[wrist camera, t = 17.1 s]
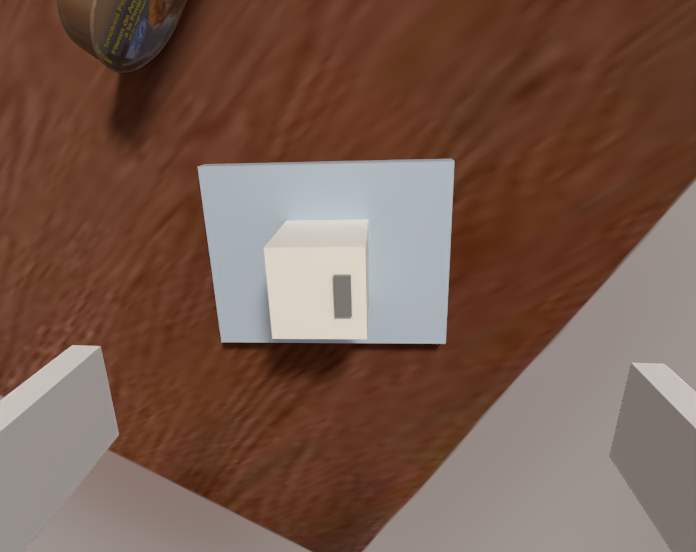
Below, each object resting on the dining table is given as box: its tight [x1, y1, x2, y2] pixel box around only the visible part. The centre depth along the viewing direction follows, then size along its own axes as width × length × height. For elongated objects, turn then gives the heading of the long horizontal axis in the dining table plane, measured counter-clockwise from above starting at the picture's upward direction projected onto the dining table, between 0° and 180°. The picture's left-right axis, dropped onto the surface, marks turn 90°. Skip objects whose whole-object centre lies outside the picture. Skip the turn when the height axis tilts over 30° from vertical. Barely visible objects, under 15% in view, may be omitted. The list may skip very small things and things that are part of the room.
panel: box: [198, 159, 454, 344], centre depth 33 cm, size 18×14×6 cm
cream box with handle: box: [264, 219, 370, 339], centre depth 31 cm, size 6×6×7 cm
